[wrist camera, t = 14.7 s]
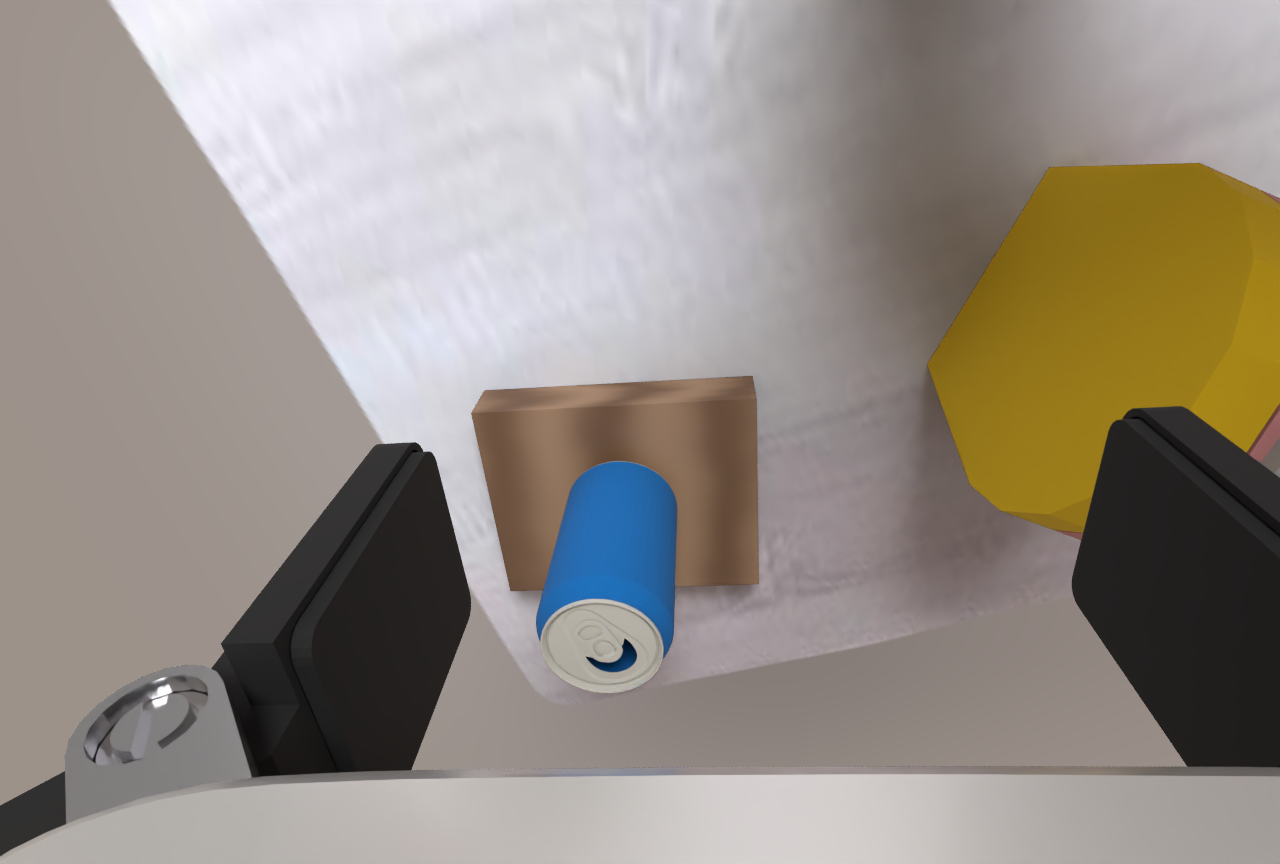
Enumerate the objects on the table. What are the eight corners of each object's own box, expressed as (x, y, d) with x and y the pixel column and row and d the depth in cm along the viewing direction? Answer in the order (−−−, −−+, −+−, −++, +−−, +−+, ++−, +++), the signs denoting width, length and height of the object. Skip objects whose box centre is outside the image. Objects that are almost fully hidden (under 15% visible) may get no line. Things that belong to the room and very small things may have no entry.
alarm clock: (1034, 437, 43) (1241, 676, 27) (911, 390, 42) (1048, 609, 26) (1215, 194, 36) (1639, 320, 20) (1071, 131, 35) (1395, 210, 19)
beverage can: (610, 560, 45) (585, 717, 35) (547, 485, 43) (501, 630, 33) (698, 515, 43) (700, 668, 33) (637, 435, 41) (619, 572, 31)
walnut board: (752, 375, 42) (756, 398, 40) (755, 554, 48) (758, 584, 46) (484, 390, 44) (471, 413, 41) (520, 561, 50) (510, 590, 47)
